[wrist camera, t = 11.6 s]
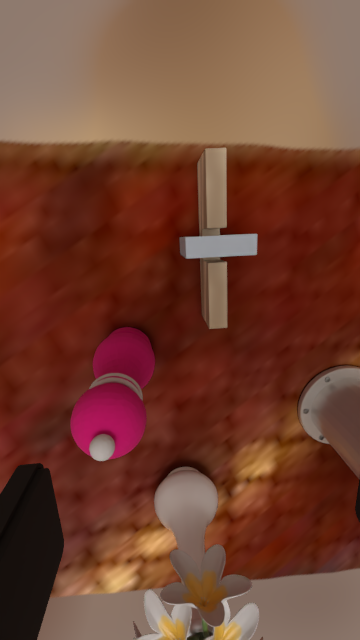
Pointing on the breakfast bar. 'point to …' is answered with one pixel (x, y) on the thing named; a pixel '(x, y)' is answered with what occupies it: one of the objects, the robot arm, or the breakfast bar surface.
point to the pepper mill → (115, 396)
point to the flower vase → (195, 569)
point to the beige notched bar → (213, 234)
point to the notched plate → (218, 246)
